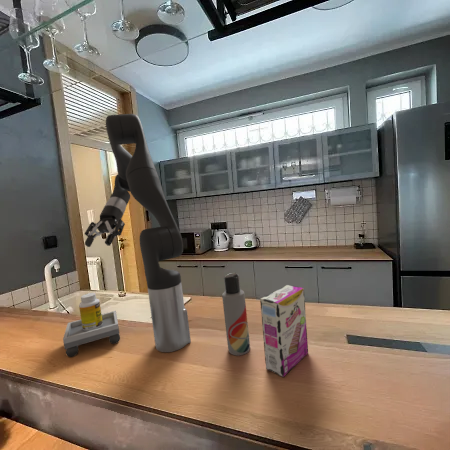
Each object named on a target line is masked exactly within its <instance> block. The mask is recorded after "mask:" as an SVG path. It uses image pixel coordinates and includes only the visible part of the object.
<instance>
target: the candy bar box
mask: <svg viewBox="0 0 450 450" xmlns="http://www.w3.org/2000/svg"><path fill="white" fill-rule="evenodd" d="M305 300H306V299H305V288H304V287H299V286H295V285H289V284H286V285H285V286H283V287H281V288H278V289H277V290H275V291H274V292H271V293H269V294H267V295H265V296H263V297H261V298H260V299H259V301H260V313H261V324H262V325H261V326H262V335H263V337H262V338H263V347H264V348H263V350H264V360H265V361H264V363H265V369H266V370H268V371H270V372H272V373H274V374H276V375H277V376H280V377H283V378H285V376H286V375H287V374H288V373H289V372H290V371H291V370H292V369H293V368H294V367H296V365H297V364H298V363H299V362H301V361H302V360H303V358H304V357H306V356H307V354H309V345H308V332H307V331H308V330H307V329H308V328H307V318H306V317H307V316H306V315H307V314H306V301H305Z"/></svg>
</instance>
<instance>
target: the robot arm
mask: <svg viewBox="0 0 450 450" xmlns="http://www.w3.org/2000/svg"><path fill="white" fill-rule="evenodd" d="M105 128H106V133H107V137H108V141H109V145H110V148H111V150H112V154H113V157H114V159H115V163H116V171H117V174H116V175H115V177H114V186H113V189H112V192H111V195H110V197H109V198H108V200H107V202H105V205H104V206H103V209H102V210H101V213H100V214H99V221H98V222H94V221H91V222H90V224H89V225H88V227H87V228H86V230H85V232H84V235H85V236H86V239H85V242H84V245H85V247H87V248H90V247H92V245H93V242H94V240H95V238H97V237H98V236H101V235H102V234H105V233H106V234H108V235H107V237H106V239H105V241H104V244H105V245H106V246H111V245H112V244H113V242H114V240H115V238H116V237H117V236H118V237H120V236H121V235H122V233H123V230H124V227H125V226H126V224H125V222H124V221H123V219H122V218H123V216H124V214H125V211H126V209H127V206H128V203H129V202H130V199H131V196H132V197H133V198H134V200H136V201H137V202H138V204H140V205H141V206H142V207H143V208H145V209H146V210H147V211H148V212H150V213H151V215H152V216H154V218H155V219H156V221H157V223H158V225H159V226H156V227H151V228H150V227H149V228H144V229H142V230H141V232H140V234H139V248H140V252H141V256H142V257H141V259H142V264H143V269H144V273H145V282H146V285H147V293H148V301H149V307H150V308H149V310H150V316H151V322H152V330H153V338H154V344H155V345H154V346H155V349H156V351H159V352H161V353H171V352H176V351H178V350H180V349H183V348H184V347H185V346H186V345H187V344H191V340H192V339H191V332H190V324H189V316H188V310H187V308H186V307H185V301H184V300H185V299H184V294H183V284H182V276H181V273H180V271H178V270H176V269H166V268H163V267H161V266H160V263H159V262H161V261H167V260H170V259H174V258H177V257H180V256H181V255H182V254H183V251H184V242H183V238H182V237H183V236H182V234H181V231H180V228H179V227H178V225H177V222H176V220H175V217H174V215H173V213H172V211H171V208H170V207H169V204H168V202H167V200H166V196H165V193H164V189H163V187H162V183H161V181H160V177H159V174H158V172H157V168H156V166H155V164H154V161H153V157H152V155H151V154H150V153H151V152H150V150H149V146H148V143H147V142H148V141H147V139H146V136H145V131H144V127H143V124H142V122H141V119H140V118H139V116H138V115H137V114H134V113H124V114H123V113H122V114H110V115H107V117H106V118H105ZM130 144H131V145H132V144H133V145H134V144H135V149H134V152H133V154H131V153H130V152H129V151H128V150H126V149H125V148H124V147H123V146H122V145H130ZM97 230H98V231H97ZM94 233H95V234H94Z"/></svg>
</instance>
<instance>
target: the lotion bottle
mask: <svg viewBox="0 0 450 450" xmlns="http://www.w3.org/2000/svg"><path fill="white" fill-rule="evenodd" d="M223 280H224V292H223V293H222V294H221V296H222V298H221V299H222V306H223V314H224V325H225V332H226V333H225V335H226V342H227V349H228V350H227V351H228V352H229V354H231V355H233V356H243V355H246V354H248V353H249V352H250V349H251V344H250V343H251V341H250V335H249V325H248V314H247V306H246V296H245V295H246V294H245V291H244V290H243V289H241V285H240V284H241V283H240V276H239V274H238V273H237V272H229V273H227V274H226V275H225V276H223Z"/></svg>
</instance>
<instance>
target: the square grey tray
mask: <svg viewBox="0 0 450 450" xmlns="http://www.w3.org/2000/svg"><path fill="white" fill-rule="evenodd" d="M101 315H102V321H103V324H102V326H101V327H99V328H98V329H94V330H90V331H84V330H83V328H82V321H81V319H78V320H74V321H71V322H67V325H66V327H65V331H64V334H63V338H62V340H63V348H64V350H66V351H65V356H66V357H68V358H73V357H76V356H77V354H79V353H78V352H79V348H80V347H79V346H81V345H84V344H87V343H91V342H94V341H98V340H100V339H104V338H108V341H109V343H110V344H111V345H115V344H118V343H119V342H120V340H121V334H120V328H119V327H120V326H119V322H118V314H117V311H116V310H113V311H109V312H106V313H101Z"/></svg>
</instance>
